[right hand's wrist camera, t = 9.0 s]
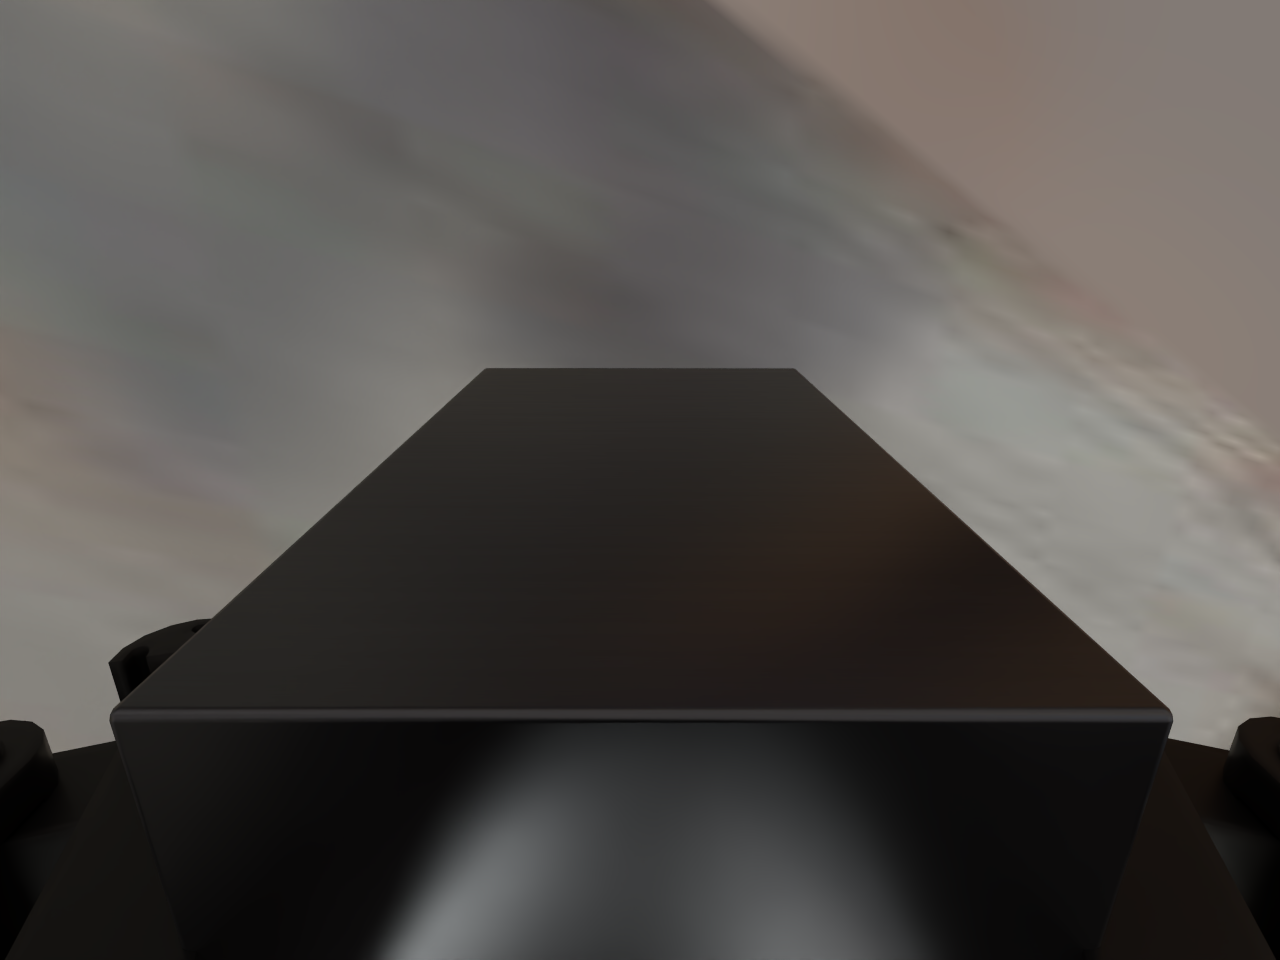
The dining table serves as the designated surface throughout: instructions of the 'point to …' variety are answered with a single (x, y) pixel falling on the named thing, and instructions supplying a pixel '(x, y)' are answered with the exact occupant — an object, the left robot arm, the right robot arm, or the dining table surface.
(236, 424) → the dining table surface
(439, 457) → the box
